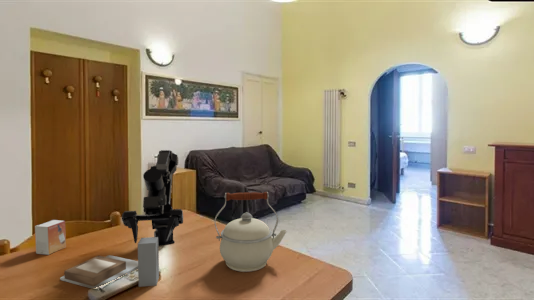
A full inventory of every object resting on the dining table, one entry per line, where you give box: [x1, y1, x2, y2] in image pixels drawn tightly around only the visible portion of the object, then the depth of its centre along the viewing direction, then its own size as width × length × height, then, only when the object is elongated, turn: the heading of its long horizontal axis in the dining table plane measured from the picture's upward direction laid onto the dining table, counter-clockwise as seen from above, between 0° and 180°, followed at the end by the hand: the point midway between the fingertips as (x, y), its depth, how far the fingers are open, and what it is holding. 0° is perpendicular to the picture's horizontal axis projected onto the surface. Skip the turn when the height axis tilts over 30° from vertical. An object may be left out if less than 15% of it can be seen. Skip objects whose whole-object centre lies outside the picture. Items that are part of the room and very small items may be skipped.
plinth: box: [59, 254, 138, 290], centre depth 102 cm, size 18×16×4 cm
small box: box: [34, 219, 67, 256], centre depth 118 cm, size 8×6×10 cm
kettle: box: [214, 191, 288, 273], centre depth 109 cm, size 25×18×25 cm
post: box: [137, 236, 160, 288], centre depth 96 cm, size 5×5×13 cm
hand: (150, 241), depth 99 cm, fingers open, 9 cm apart
